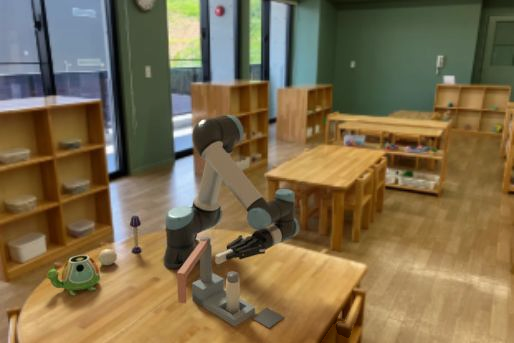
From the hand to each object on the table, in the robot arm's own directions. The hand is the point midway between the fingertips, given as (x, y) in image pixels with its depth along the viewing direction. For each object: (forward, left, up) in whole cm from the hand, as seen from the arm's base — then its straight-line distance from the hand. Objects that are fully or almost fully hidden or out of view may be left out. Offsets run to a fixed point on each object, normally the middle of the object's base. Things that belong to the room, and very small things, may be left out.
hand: (216, 259), depth 136 cm
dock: (-4, +6, -23) cm, 24 cm away
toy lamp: (-63, +8, -23) cm, 68 cm away
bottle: (+1, +6, -23) cm, 24 cm away
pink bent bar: (-7, -3, -10) cm, 13 cm away
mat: (+12, +12, -23) cm, 29 cm away
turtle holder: (-53, -24, -23) cm, 63 cm away
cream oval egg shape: (-61, -7, -23) cm, 66 cm away
